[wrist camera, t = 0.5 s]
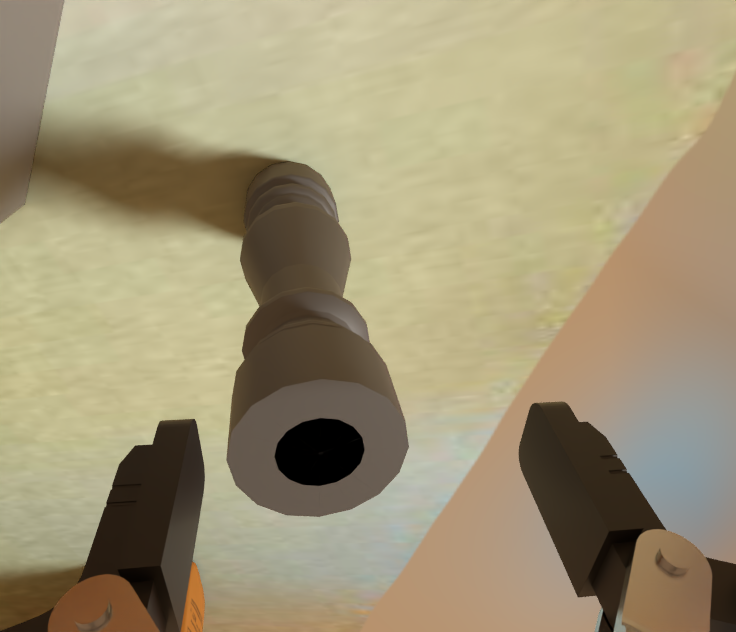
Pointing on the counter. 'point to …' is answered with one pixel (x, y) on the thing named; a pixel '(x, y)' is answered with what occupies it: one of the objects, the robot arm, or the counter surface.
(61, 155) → the counter surface
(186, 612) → the coffee package
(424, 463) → the counter surface
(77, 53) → the counter surface
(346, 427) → the candle holder
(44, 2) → the control panel
